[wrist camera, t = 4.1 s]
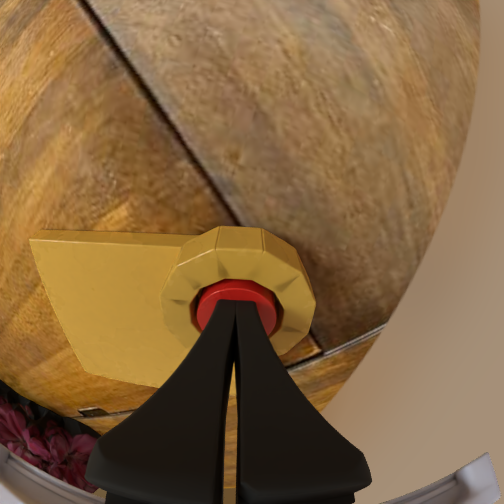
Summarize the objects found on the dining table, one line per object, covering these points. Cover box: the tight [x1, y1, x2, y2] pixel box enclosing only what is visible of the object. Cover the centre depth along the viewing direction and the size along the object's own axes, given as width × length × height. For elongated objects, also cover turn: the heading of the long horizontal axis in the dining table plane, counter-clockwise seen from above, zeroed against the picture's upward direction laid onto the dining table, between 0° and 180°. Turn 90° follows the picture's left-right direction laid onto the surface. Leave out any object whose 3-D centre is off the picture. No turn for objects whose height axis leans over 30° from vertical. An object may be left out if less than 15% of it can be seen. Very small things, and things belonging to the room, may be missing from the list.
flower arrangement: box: [0, 380, 101, 494], centre depth 19 cm, size 31×20×15 cm, turn 87°
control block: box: [29, 226, 316, 396], centre depth 13 cm, size 14×12×3 cm
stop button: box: [197, 279, 277, 335], centre depth 11 cm, size 3×3×2 cm
